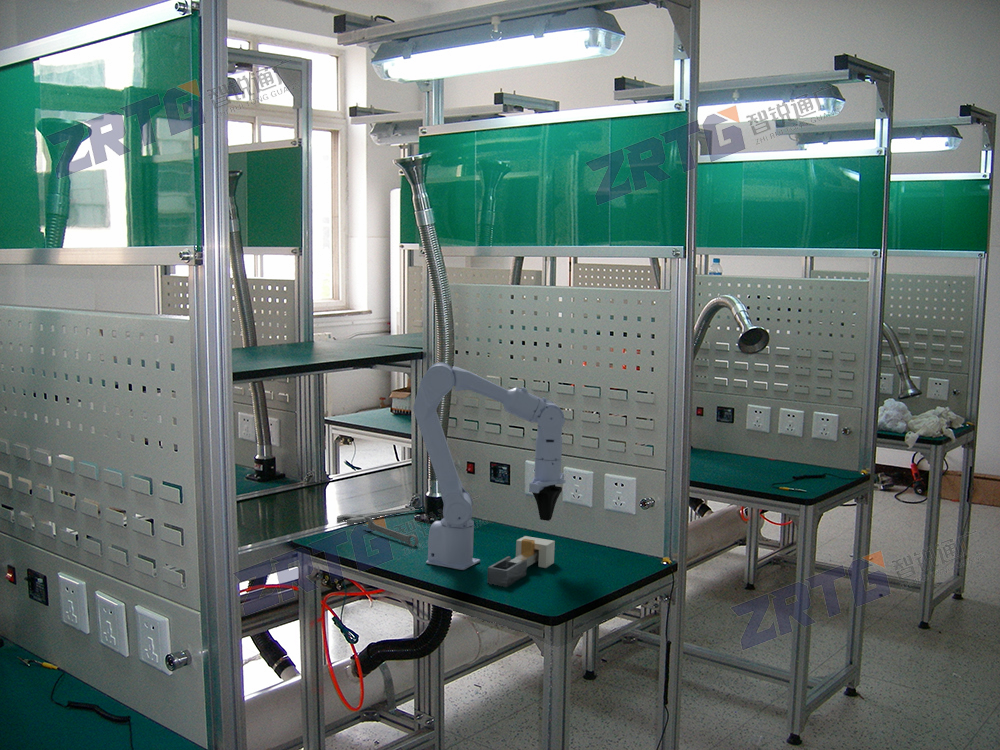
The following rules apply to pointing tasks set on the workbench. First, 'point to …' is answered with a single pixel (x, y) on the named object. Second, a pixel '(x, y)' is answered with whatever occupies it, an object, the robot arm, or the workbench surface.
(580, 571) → the workbench surface
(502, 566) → the sleeve
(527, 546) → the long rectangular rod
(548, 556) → the socket block
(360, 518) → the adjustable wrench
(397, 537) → the combination wrench
